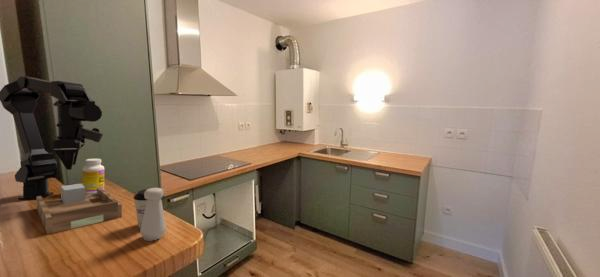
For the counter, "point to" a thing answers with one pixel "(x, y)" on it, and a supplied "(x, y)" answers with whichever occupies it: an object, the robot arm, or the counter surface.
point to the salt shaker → (153, 215)
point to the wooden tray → (78, 211)
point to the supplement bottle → (93, 176)
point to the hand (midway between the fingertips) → (71, 167)
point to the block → (72, 193)
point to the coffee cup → (140, 206)
